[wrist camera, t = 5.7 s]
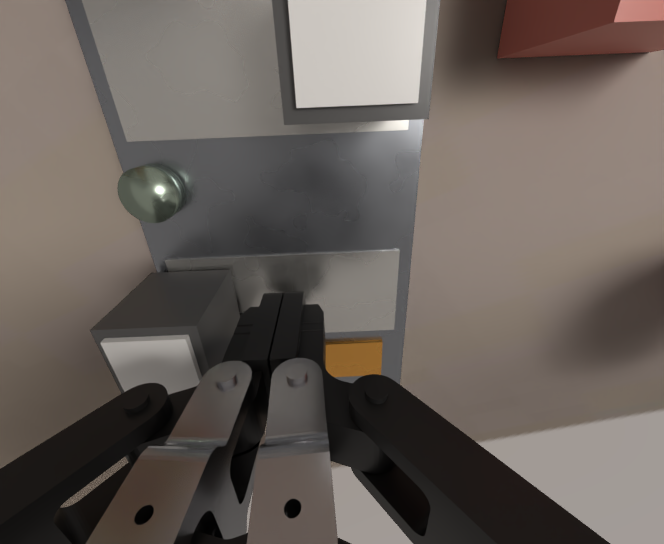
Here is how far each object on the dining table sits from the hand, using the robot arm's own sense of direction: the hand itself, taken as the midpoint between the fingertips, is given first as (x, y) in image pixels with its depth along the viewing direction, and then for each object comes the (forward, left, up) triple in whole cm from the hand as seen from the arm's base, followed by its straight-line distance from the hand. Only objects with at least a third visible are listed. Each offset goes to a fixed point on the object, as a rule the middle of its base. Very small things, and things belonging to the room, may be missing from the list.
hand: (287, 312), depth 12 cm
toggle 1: (+4, 0, -1) cm, 4 cm away
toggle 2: (-2, -8, -1) cm, 8 cm away
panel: (0, -3, -4) cm, 5 cm away
